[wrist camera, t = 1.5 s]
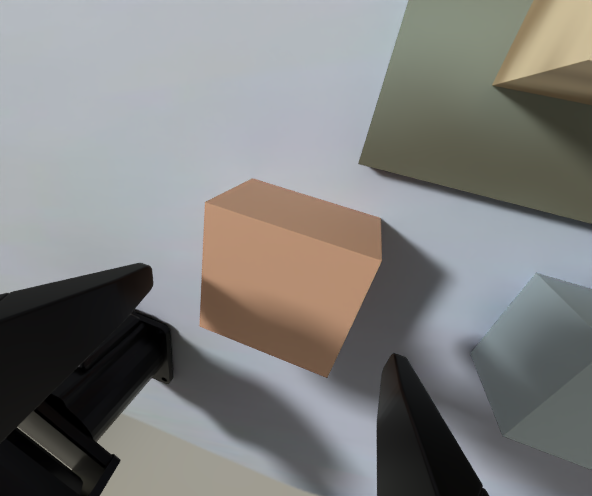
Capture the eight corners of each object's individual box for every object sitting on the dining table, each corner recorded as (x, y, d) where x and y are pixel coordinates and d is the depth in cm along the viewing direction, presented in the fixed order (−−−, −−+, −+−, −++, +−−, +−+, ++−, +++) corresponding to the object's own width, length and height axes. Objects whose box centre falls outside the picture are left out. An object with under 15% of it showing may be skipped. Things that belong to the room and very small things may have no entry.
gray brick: (579, 388, 12) (657, 495, 9) (469, 351, 13) (502, 436, 10) (676, 312, 10) (838, 419, 6) (534, 271, 10) (610, 346, 7)
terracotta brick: (339, 314, 14) (327, 377, 11) (240, 278, 15) (199, 326, 12) (380, 216, 11) (381, 260, 8) (254, 177, 12) (205, 202, 9)
